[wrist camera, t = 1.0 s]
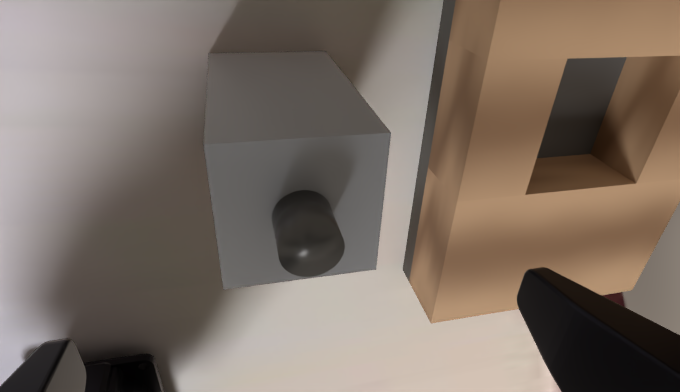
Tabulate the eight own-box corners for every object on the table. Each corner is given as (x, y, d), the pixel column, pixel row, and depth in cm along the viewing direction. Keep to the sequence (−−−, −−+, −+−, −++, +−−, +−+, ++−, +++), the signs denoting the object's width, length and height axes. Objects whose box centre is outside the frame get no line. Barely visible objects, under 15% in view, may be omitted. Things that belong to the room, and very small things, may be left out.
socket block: (582, 245, 28) (632, 290, 24) (402, 269, 25) (431, 323, 22) (754, -162, 17) (883, -180, 14) (473, -194, 14) (548, -225, 11)
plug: (323, 152, 20) (391, 305, 12) (220, 159, 19) (224, 330, 11) (325, 51, 18) (412, 160, 10) (208, 53, 17) (201, 176, 9)
